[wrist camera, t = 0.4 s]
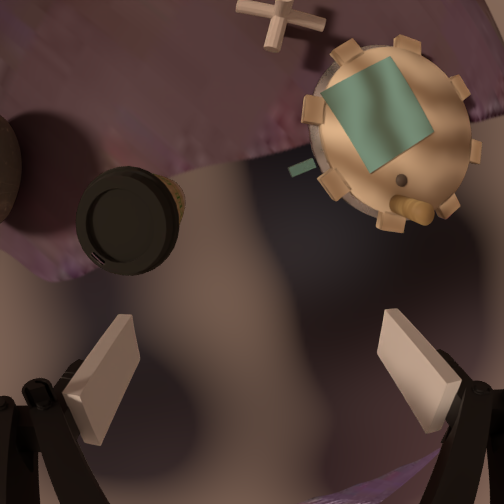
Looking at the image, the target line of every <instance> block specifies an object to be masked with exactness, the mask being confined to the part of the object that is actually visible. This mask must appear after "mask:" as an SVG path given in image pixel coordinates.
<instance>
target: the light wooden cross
mask: <svg viewBox="0 0 504 504" xmlns="http://www.w3.org/2000/svg"><path fill="white" fill-rule="evenodd" d="M293 2H294V0H275V5H271V4H266V3H261V2H256V1H250V0H238V2H237V5H236V12H237V13H243V14H249V15H254V16H259V17H264V18H269V19H271V22H270V25H269V29H268V33H267V36H266V40H265V44H264V49H265V50H266V51H269V52H274V53H277V52H280V49H281V45H282V41H283V37H284V33H285V29H286V25H287V23H291V24H295V25H299V26H302V27H306V28H310V29H313V30H317V31H320V32H323V30H324V27H325V23H326V19H325V18H322V17H319V16H315V15H312V14H308V13H304V12H301V11H297V10H293V9H291V8H292V5H293Z"/></svg>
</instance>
